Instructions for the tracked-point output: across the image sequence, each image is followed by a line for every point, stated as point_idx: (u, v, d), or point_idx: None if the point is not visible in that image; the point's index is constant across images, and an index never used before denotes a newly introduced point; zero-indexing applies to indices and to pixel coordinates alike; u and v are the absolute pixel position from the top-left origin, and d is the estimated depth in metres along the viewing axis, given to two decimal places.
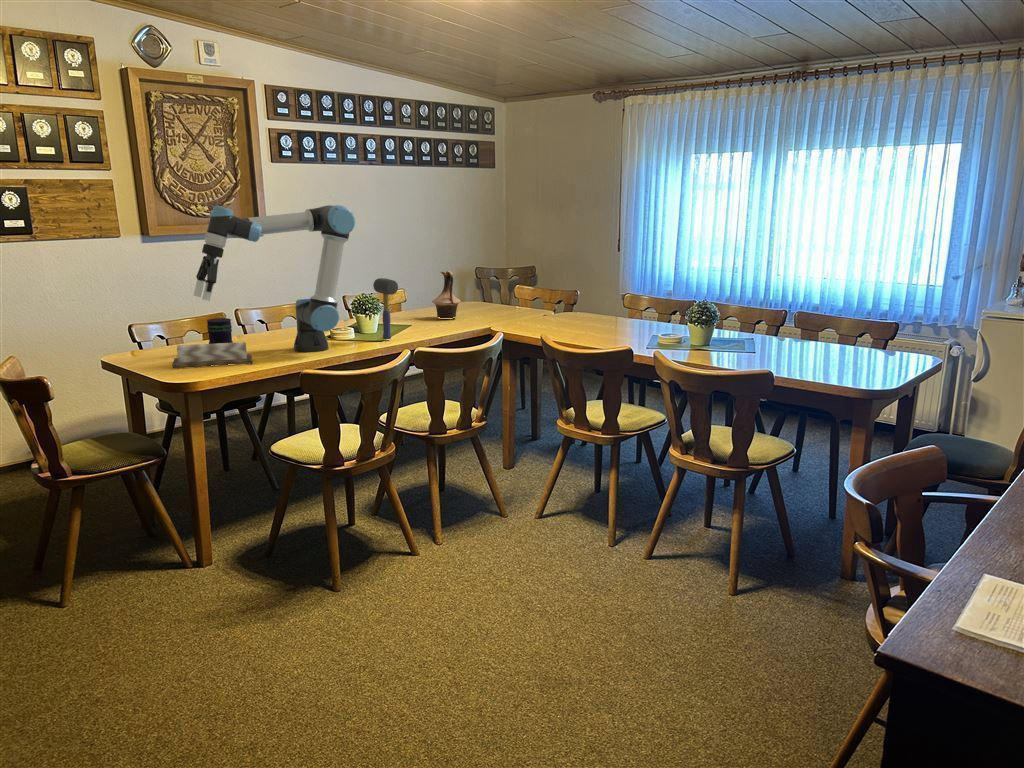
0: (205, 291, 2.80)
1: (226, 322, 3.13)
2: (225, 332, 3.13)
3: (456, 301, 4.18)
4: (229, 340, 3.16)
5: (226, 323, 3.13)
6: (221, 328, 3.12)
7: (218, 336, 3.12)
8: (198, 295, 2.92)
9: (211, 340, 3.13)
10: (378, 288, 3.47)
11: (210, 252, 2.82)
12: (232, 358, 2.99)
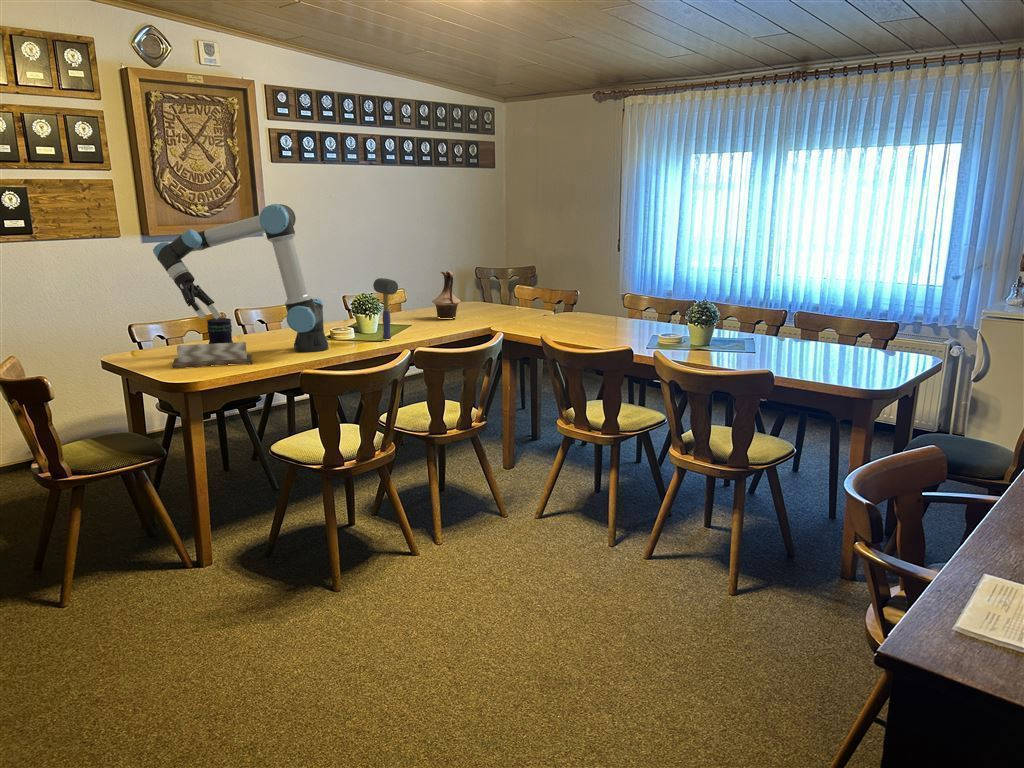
0: (196, 311, 2.98)
1: (226, 322, 3.13)
2: (225, 332, 3.13)
3: (456, 301, 4.18)
4: (229, 340, 3.16)
5: (226, 323, 3.13)
6: (221, 328, 3.12)
7: (218, 336, 3.12)
8: (218, 316, 3.12)
9: (211, 340, 3.13)
10: (378, 288, 3.47)
11: (178, 283, 3.02)
12: (232, 358, 2.99)
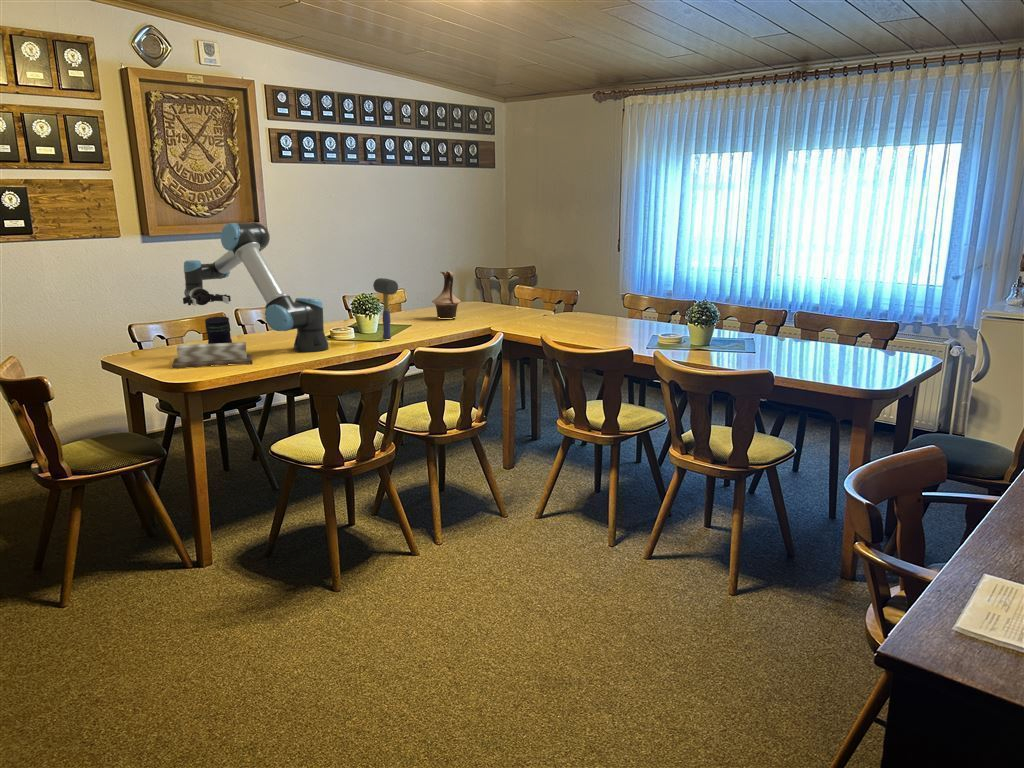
0: (192, 303, 3.20)
1: (224, 322, 3.11)
2: (223, 332, 3.11)
3: (456, 301, 4.18)
4: (228, 340, 3.15)
5: (224, 323, 3.11)
6: (219, 328, 3.10)
7: (217, 337, 3.11)
8: (226, 299, 3.25)
9: (210, 340, 3.13)
10: (378, 288, 3.47)
11: None
12: (232, 358, 2.99)
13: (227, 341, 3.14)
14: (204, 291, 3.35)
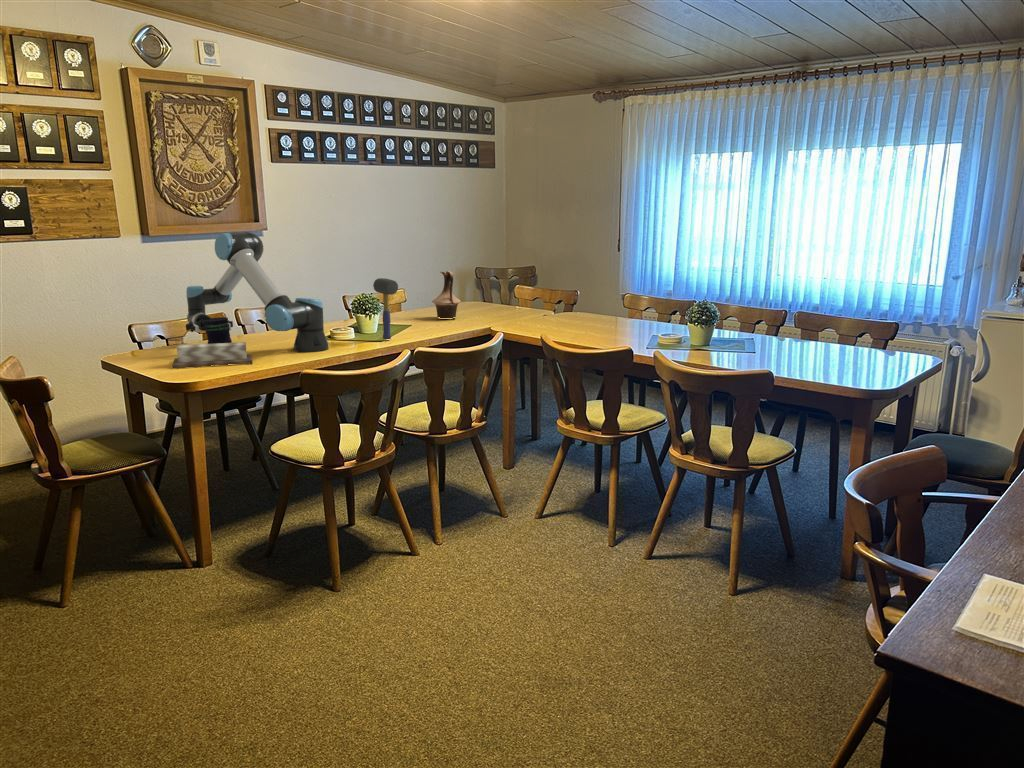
0: (195, 330, 3.22)
1: (222, 321, 3.12)
2: (221, 331, 3.12)
3: (456, 301, 4.18)
4: (227, 339, 3.15)
5: (222, 322, 3.12)
6: (217, 327, 3.11)
7: (215, 335, 3.12)
8: None
9: (209, 340, 3.13)
10: (378, 288, 3.47)
11: None
12: (232, 358, 2.99)
13: (226, 340, 3.15)
14: (207, 317, 3.37)
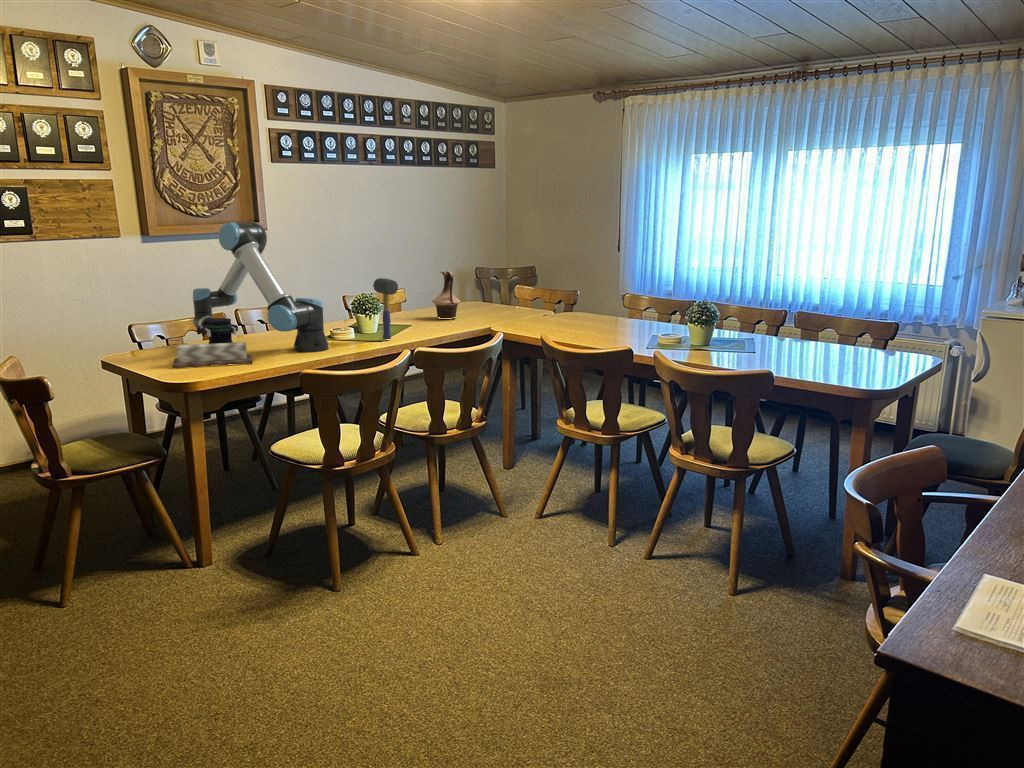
0: (207, 334, 3.12)
1: (223, 322, 3.12)
2: (222, 332, 3.12)
3: (456, 301, 4.18)
4: (227, 340, 3.15)
5: (223, 323, 3.12)
6: (218, 328, 3.11)
7: (215, 336, 3.12)
8: (233, 330, 3.16)
9: (209, 340, 3.14)
10: (378, 288, 3.47)
11: None
12: (232, 358, 2.99)
13: (226, 342, 3.14)
14: None
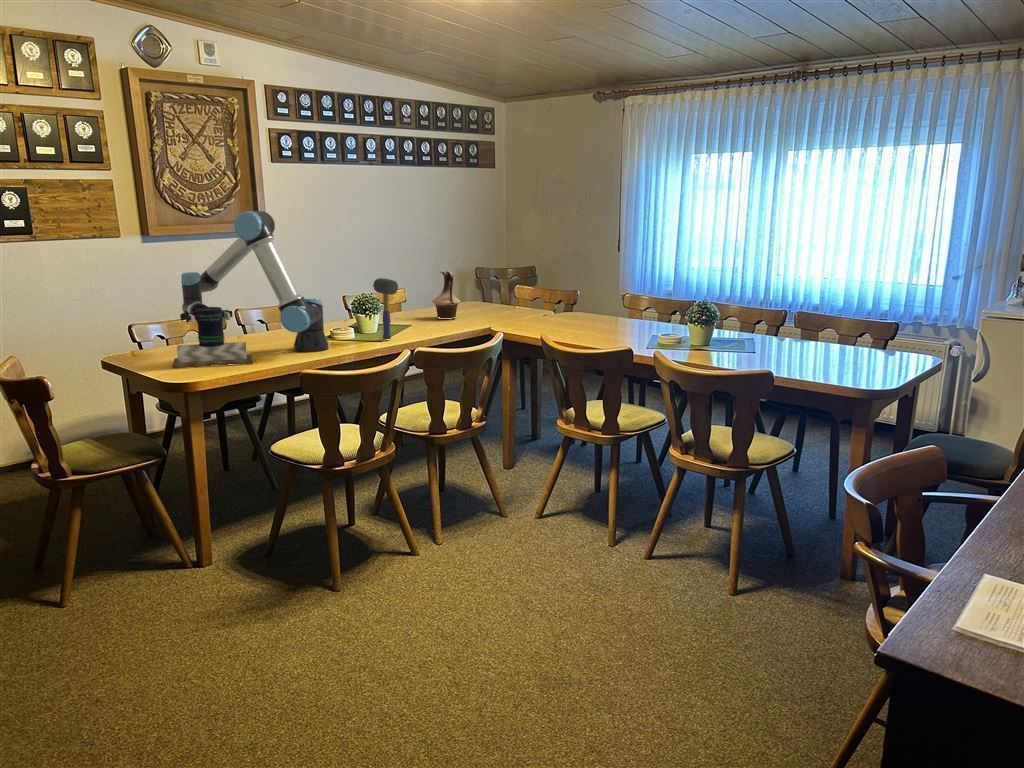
0: (191, 320, 2.92)
1: (213, 311, 2.92)
2: (212, 322, 2.92)
3: (456, 301, 4.18)
4: (217, 331, 2.95)
5: (213, 312, 2.92)
6: (207, 317, 2.91)
7: (205, 326, 2.92)
8: (227, 315, 2.97)
9: (199, 330, 2.94)
10: (378, 288, 3.47)
11: None
12: (232, 358, 2.99)
13: (216, 332, 2.94)
14: (203, 306, 3.07)
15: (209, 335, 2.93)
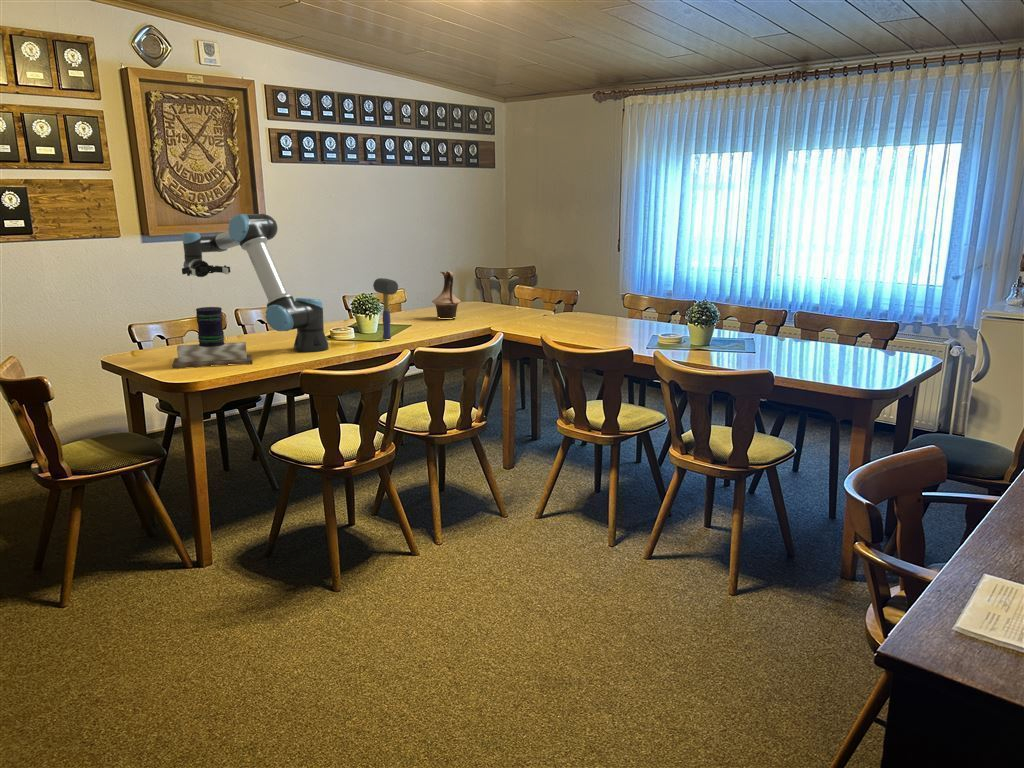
0: (191, 274, 3.14)
1: (213, 311, 2.92)
2: (212, 322, 2.92)
3: (456, 301, 4.18)
4: (217, 331, 2.95)
5: (213, 312, 2.92)
6: (207, 317, 2.91)
7: (205, 326, 2.92)
8: (226, 270, 3.19)
9: (199, 330, 2.94)
10: (378, 288, 3.47)
11: None
12: (232, 358, 2.99)
13: (216, 332, 2.94)
14: (203, 262, 3.29)
15: (209, 335, 2.93)
